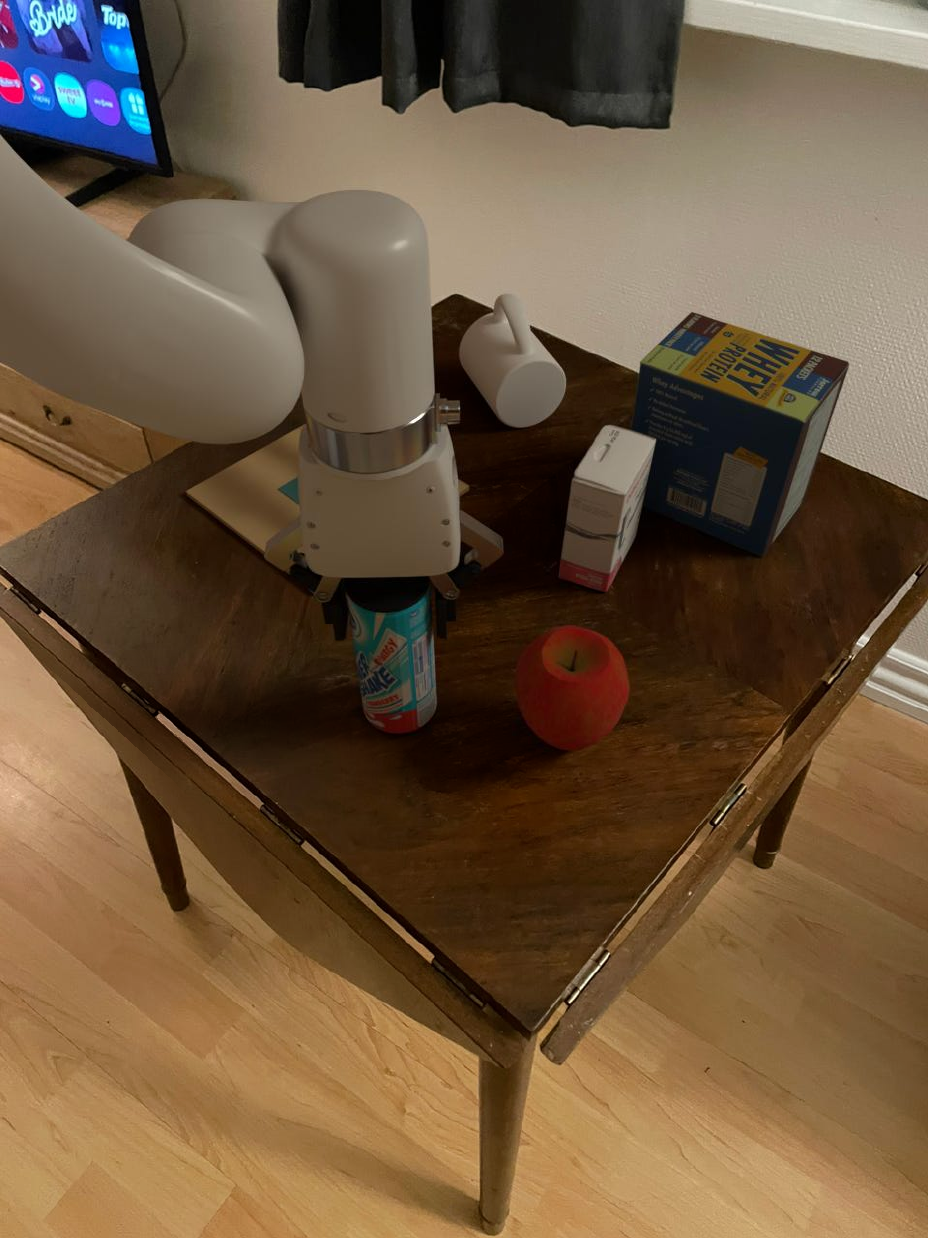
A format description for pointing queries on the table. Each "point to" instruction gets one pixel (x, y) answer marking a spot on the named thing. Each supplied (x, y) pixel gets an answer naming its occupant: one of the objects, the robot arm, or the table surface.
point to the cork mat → (259, 492)
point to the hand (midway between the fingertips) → (391, 623)
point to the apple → (571, 686)
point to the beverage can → (394, 650)
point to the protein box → (733, 428)
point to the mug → (512, 365)
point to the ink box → (605, 506)
